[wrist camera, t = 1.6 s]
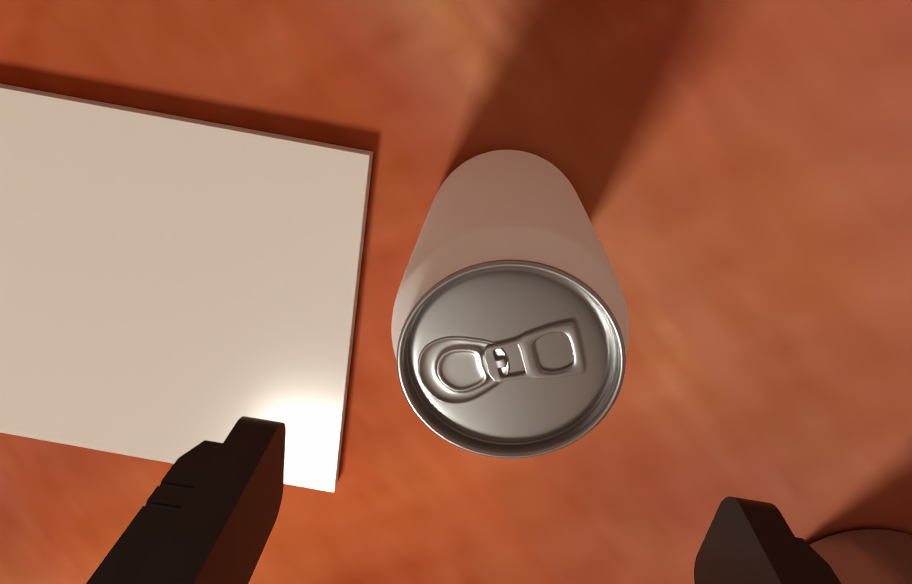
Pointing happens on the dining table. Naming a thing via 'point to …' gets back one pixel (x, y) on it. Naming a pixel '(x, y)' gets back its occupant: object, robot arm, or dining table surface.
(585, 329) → the can
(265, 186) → the tile mat
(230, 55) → the dining table surface
